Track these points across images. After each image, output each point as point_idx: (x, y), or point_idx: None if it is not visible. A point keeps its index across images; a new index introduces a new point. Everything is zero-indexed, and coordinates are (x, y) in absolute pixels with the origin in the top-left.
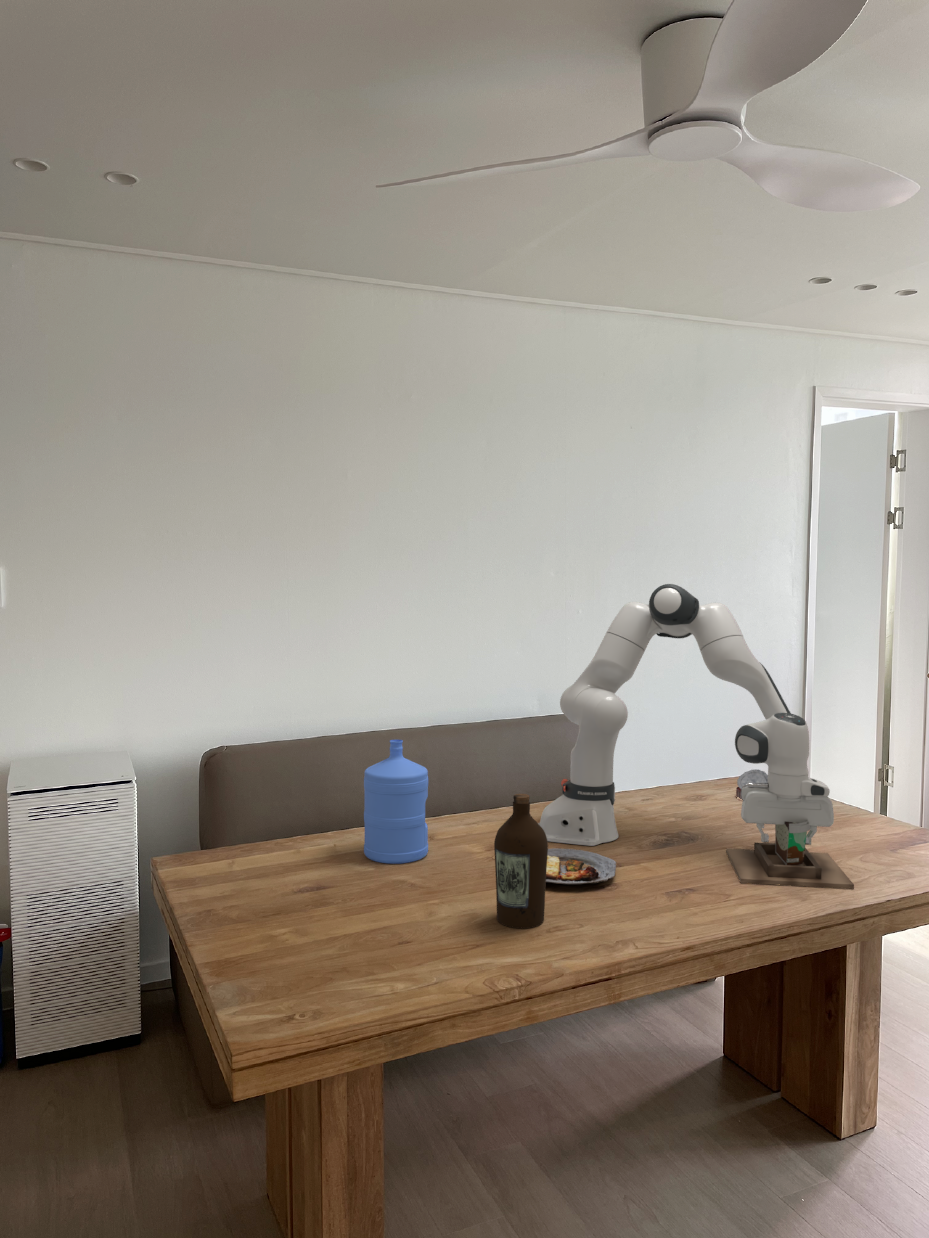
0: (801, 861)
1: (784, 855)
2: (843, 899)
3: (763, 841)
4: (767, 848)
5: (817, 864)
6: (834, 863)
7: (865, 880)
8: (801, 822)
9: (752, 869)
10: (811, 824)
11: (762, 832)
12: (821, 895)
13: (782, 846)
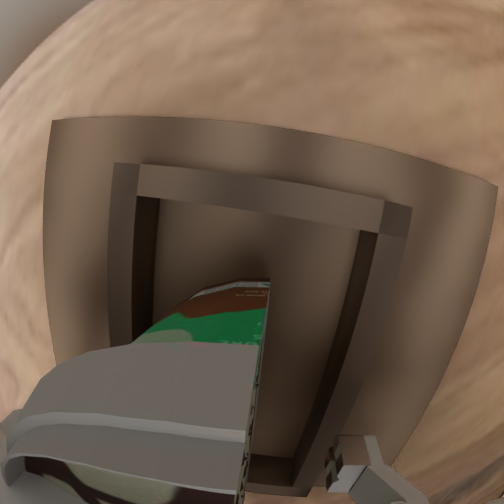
0: (175, 307)
1: (261, 347)
2: (144, 12)
3: (369, 437)
4: (265, 472)
5: (113, 230)
6: (58, 350)
7: (13, 219)
8: (63, 494)
9: (415, 306)
10: (5, 444)
11: (390, 478)
12: (206, 33)
13: (253, 409)
